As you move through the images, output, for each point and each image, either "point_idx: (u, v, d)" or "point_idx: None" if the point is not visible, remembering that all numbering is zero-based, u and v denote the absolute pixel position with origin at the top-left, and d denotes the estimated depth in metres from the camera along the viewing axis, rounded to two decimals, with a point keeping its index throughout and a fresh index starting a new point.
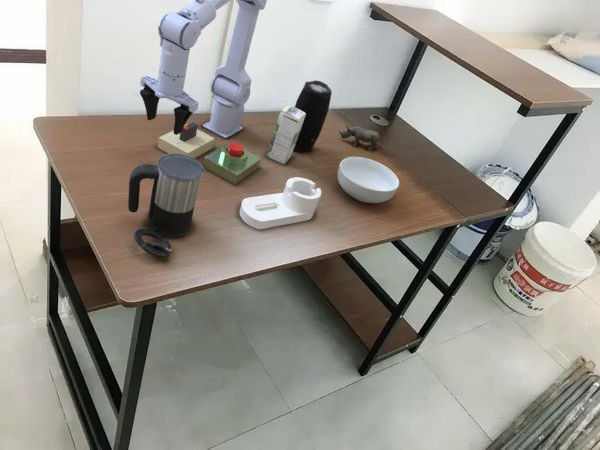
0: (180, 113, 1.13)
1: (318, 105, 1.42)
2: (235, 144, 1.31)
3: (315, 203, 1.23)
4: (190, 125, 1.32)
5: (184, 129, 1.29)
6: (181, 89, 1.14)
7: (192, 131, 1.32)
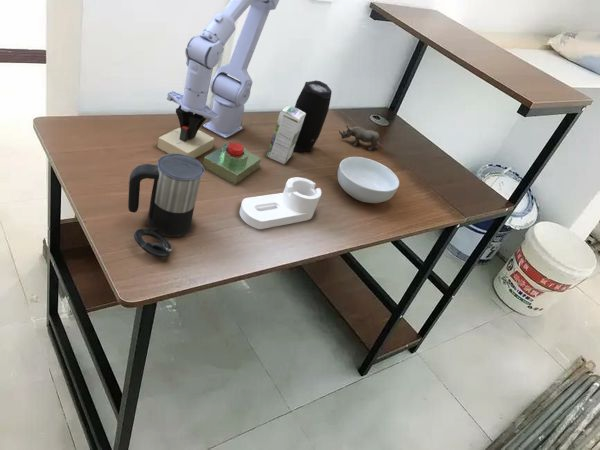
0: (195, 120, 1.26)
1: (318, 105, 1.42)
2: (235, 144, 1.31)
3: (315, 203, 1.23)
4: None
5: (184, 129, 1.29)
6: (204, 103, 1.27)
7: None
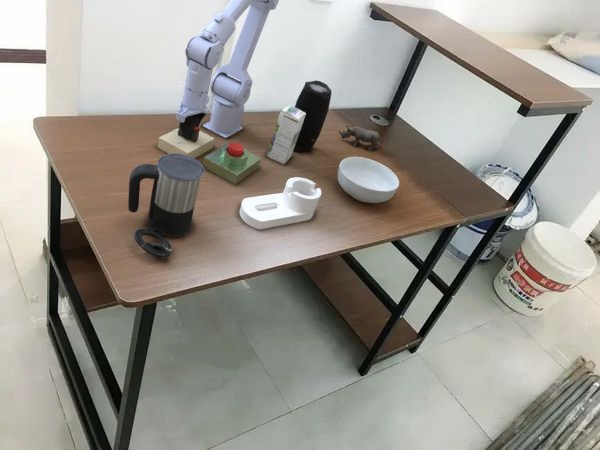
0: (206, 113, 1.31)
1: (318, 105, 1.42)
2: (235, 144, 1.31)
3: (315, 203, 1.23)
4: None
5: (198, 129, 1.31)
6: None
7: None
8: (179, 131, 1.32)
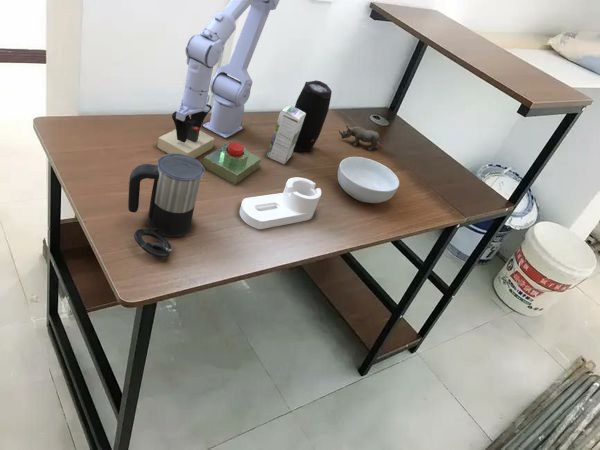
0: (211, 108, 1.33)
1: (318, 105, 1.42)
2: (235, 144, 1.31)
3: (315, 203, 1.23)
4: None
5: (198, 129, 1.31)
6: None
7: None
8: None
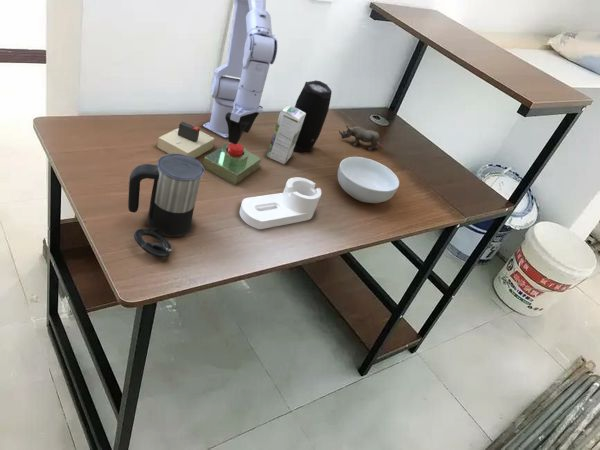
0: None
1: (318, 105, 1.42)
2: (235, 144, 1.31)
3: (315, 203, 1.23)
4: (188, 125, 1.31)
5: (198, 129, 1.31)
6: None
7: None
8: (179, 131, 1.32)
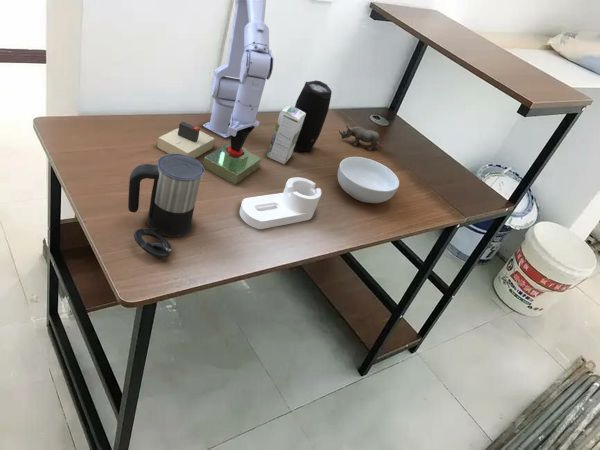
0: (254, 127, 1.28)
1: (318, 105, 1.42)
2: None
3: (315, 203, 1.23)
4: (188, 125, 1.31)
5: (198, 129, 1.31)
6: None
7: None
8: (179, 131, 1.32)
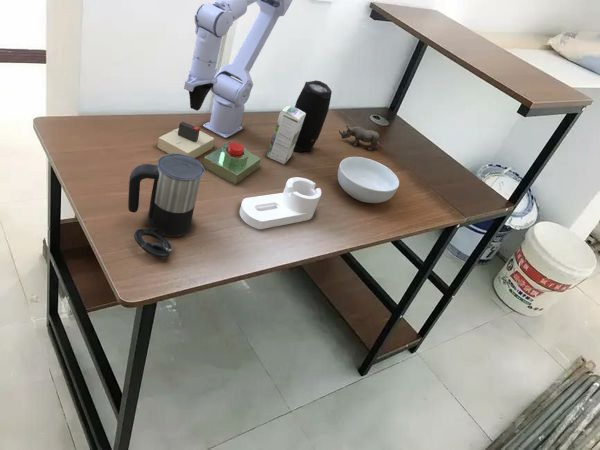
0: (213, 85, 1.29)
1: (318, 105, 1.42)
2: (235, 144, 1.31)
3: (315, 203, 1.23)
4: (188, 125, 1.31)
5: (198, 129, 1.31)
6: None
7: None
8: (179, 131, 1.32)
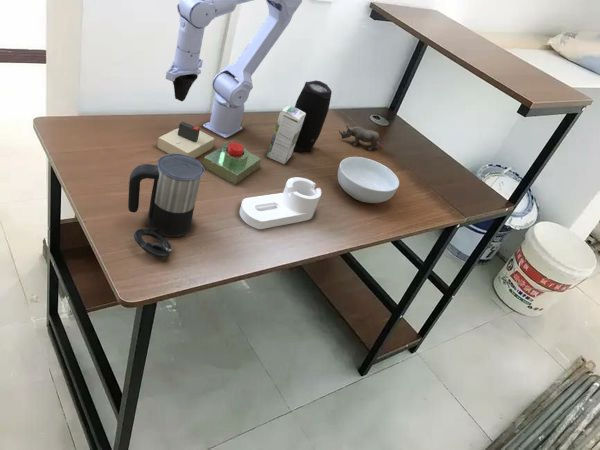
0: (197, 76, 1.30)
1: (318, 105, 1.42)
2: (235, 144, 1.31)
3: (315, 203, 1.23)
4: (188, 125, 1.31)
5: (198, 129, 1.31)
6: None
7: None
8: (179, 131, 1.32)
